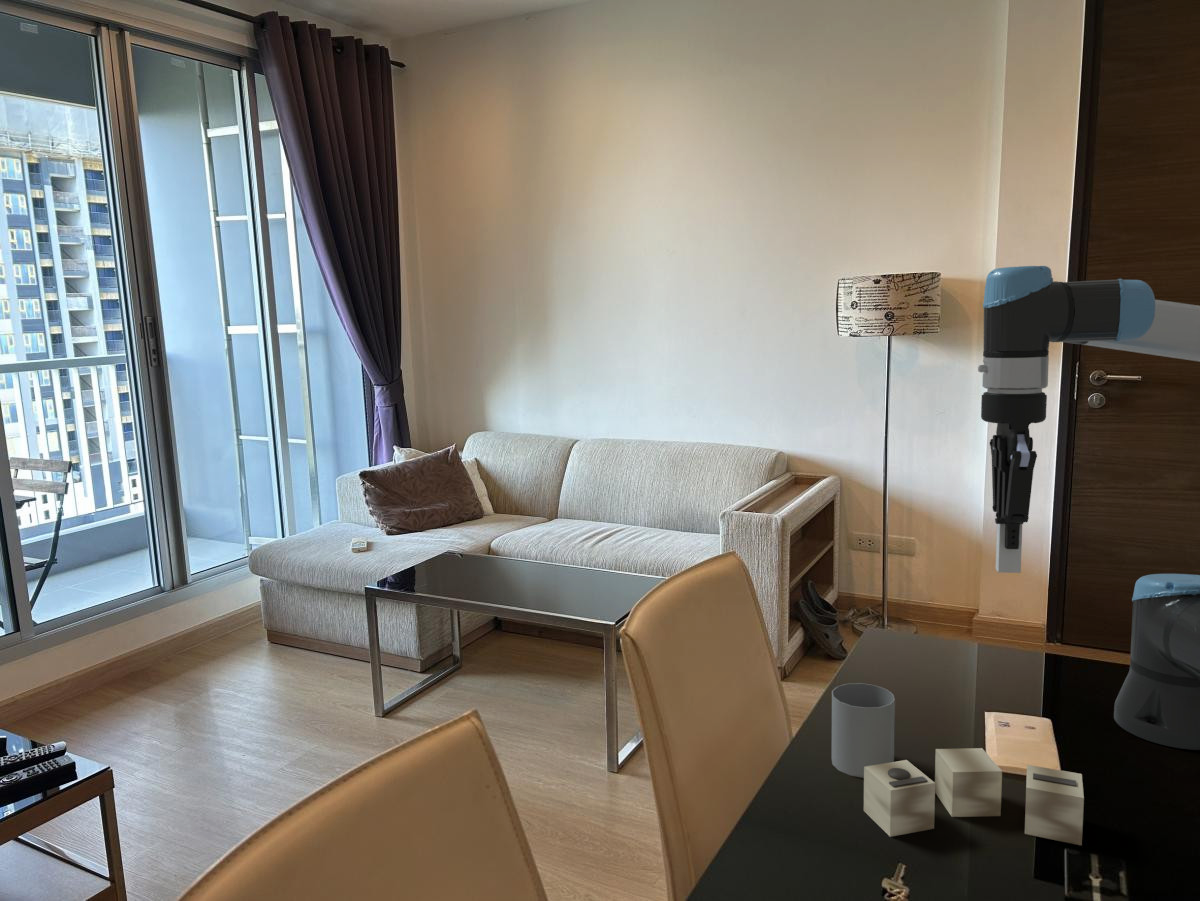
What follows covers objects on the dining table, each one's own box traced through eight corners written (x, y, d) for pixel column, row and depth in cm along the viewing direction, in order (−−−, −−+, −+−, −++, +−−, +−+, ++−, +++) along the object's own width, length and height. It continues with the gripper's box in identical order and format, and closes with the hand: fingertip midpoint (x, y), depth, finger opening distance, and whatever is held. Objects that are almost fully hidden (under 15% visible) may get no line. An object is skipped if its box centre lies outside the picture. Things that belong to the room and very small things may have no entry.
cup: (896, 780, 118) (897, 709, 117) (833, 775, 120) (834, 706, 119) (889, 750, 127) (890, 684, 125) (830, 747, 128) (830, 681, 127)
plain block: (980, 791, 115) (982, 748, 114) (1000, 816, 109) (1002, 771, 108) (934, 792, 115) (935, 749, 114) (951, 817, 109) (952, 772, 109)
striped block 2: (1079, 819, 108) (1081, 772, 107) (1081, 846, 103) (1083, 796, 102) (1025, 809, 111) (1027, 763, 110) (1024, 834, 105) (1026, 785, 104)
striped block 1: (905, 803, 113) (906, 758, 112) (934, 829, 107) (935, 781, 106) (863, 811, 111) (864, 765, 110) (890, 837, 106) (890, 788, 105)
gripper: (971, 387, 119) (967, 557, 122) (994, 395, 106) (989, 584, 109) (1031, 386, 117) (1025, 558, 120) (1062, 394, 105) (1054, 586, 108)
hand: (1008, 570), depth 115 cm, fingers closed
